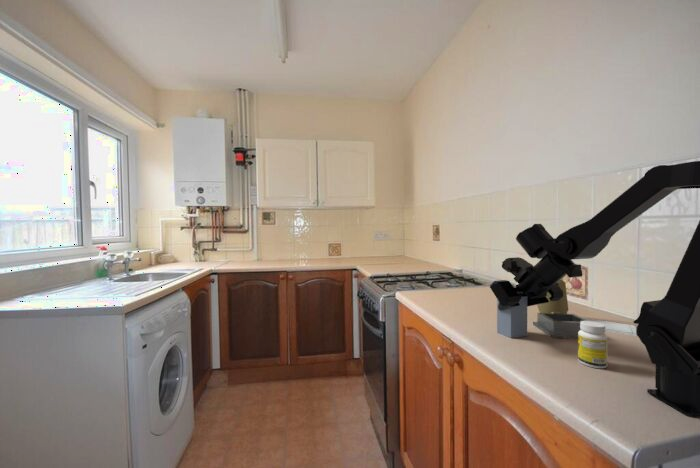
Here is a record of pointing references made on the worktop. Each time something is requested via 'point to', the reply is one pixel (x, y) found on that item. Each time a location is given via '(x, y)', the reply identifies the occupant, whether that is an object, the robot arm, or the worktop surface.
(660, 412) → the worktop surface
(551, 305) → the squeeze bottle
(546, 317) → the pocket plate
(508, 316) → the grey tall block
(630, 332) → the hard drive
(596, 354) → the supplement bottle
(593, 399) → the worktop surface
